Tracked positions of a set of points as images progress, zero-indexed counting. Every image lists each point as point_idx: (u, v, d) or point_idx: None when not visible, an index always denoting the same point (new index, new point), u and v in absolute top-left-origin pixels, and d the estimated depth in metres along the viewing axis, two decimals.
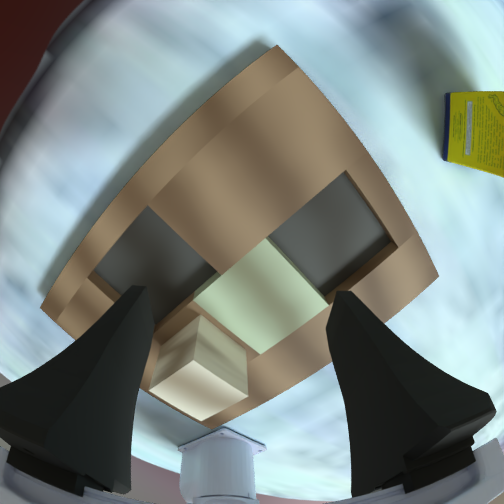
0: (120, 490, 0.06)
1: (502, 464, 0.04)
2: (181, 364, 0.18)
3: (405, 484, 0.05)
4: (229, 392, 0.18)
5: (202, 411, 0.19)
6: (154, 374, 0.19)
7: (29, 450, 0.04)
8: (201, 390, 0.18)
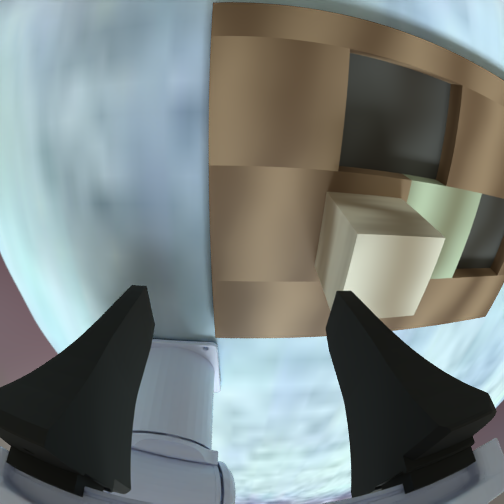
0: (120, 490, 0.06)
1: (502, 464, 0.04)
2: (422, 232, 0.12)
3: (405, 484, 0.05)
4: (412, 299, 0.14)
5: None
6: (351, 218, 0.13)
7: (29, 450, 0.04)
8: (401, 279, 0.13)
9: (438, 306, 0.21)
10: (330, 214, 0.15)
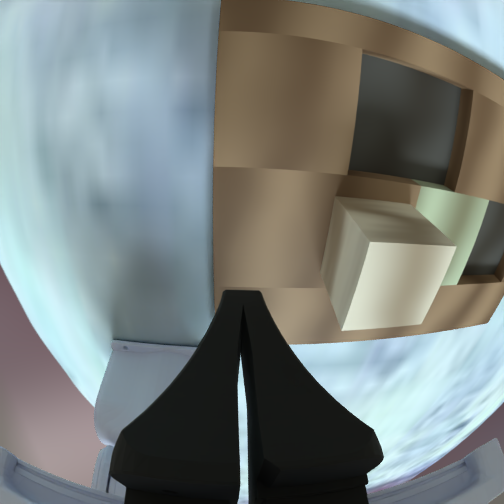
0: None
1: (502, 464, 0.04)
2: (434, 241, 0.12)
3: None
4: (420, 308, 0.13)
5: (367, 317, 0.13)
6: (362, 224, 0.12)
7: (174, 490, 0.04)
8: (411, 288, 0.12)
9: (442, 313, 0.21)
10: (338, 220, 0.15)
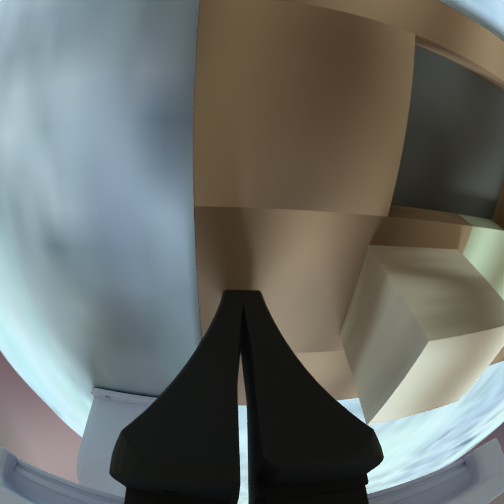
0: None
1: (502, 464, 0.04)
2: (497, 318, 0.07)
3: None
4: (462, 388, 0.09)
5: (401, 409, 0.09)
6: (413, 303, 0.08)
7: (174, 491, 0.04)
8: (459, 374, 0.08)
9: None
10: (373, 282, 0.10)
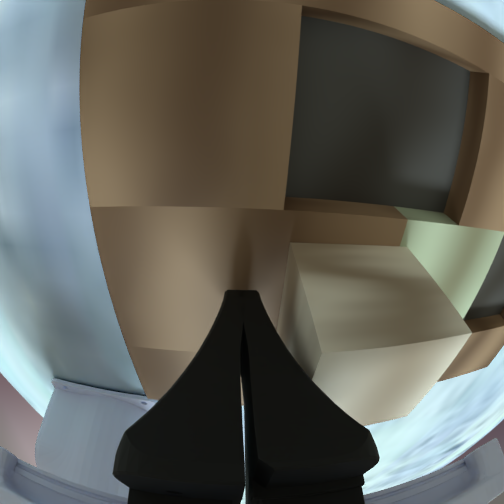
0: None
1: (502, 464, 0.04)
2: (438, 328, 0.07)
3: None
4: (407, 404, 0.08)
5: None
6: (319, 307, 0.08)
7: (178, 491, 0.04)
8: (394, 390, 0.08)
9: None
10: (291, 282, 0.10)
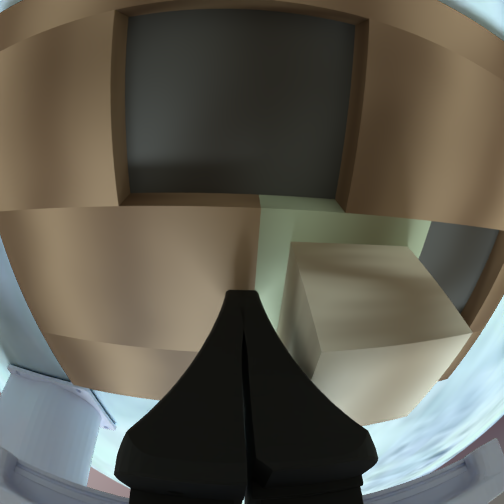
0: None
1: (502, 464, 0.04)
2: (439, 327, 0.07)
3: None
4: (407, 404, 0.08)
5: None
6: (318, 306, 0.08)
7: (180, 491, 0.04)
8: (394, 390, 0.08)
9: None
10: (292, 281, 0.10)
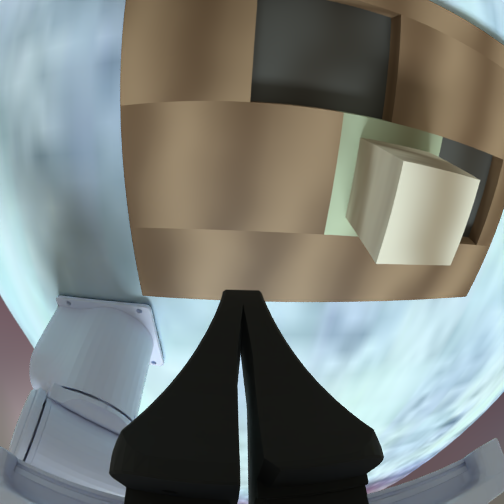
0: None
1: (502, 464, 0.04)
2: (459, 172, 0.11)
3: None
4: (450, 245, 0.12)
5: (401, 249, 0.12)
6: (391, 152, 0.12)
7: (174, 491, 0.04)
8: (442, 219, 0.12)
9: (402, 275, 0.20)
10: (365, 157, 0.14)
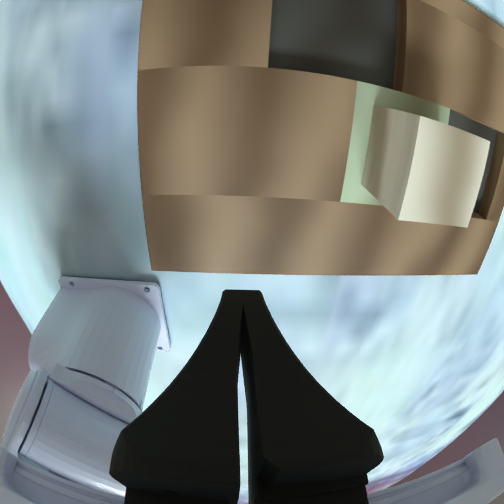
0: None
1: (502, 464, 0.04)
2: (470, 133, 0.10)
3: None
4: (466, 206, 0.12)
5: (421, 205, 0.12)
6: (407, 112, 0.11)
7: (175, 490, 0.04)
8: (458, 177, 0.11)
9: (416, 248, 0.19)
10: (380, 122, 0.13)
